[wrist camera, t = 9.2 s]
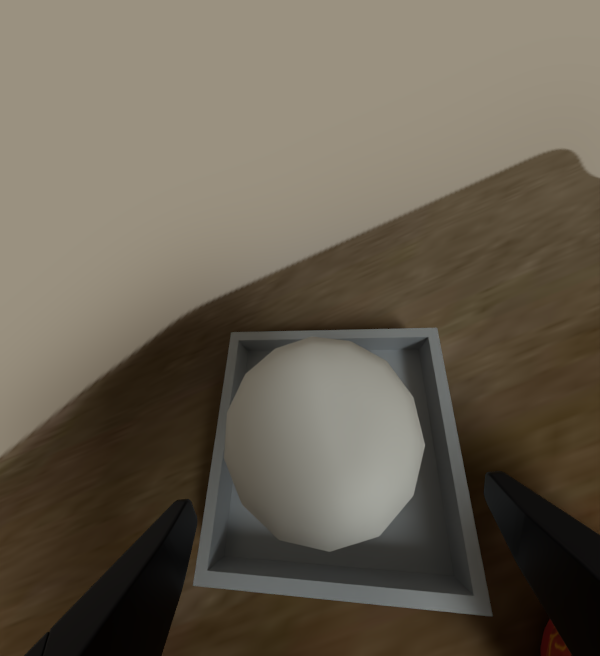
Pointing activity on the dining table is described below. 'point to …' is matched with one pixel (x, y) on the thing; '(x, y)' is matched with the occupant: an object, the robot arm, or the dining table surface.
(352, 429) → the salt shaker
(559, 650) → the canned food
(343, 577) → the tray
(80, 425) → the dining table surface
